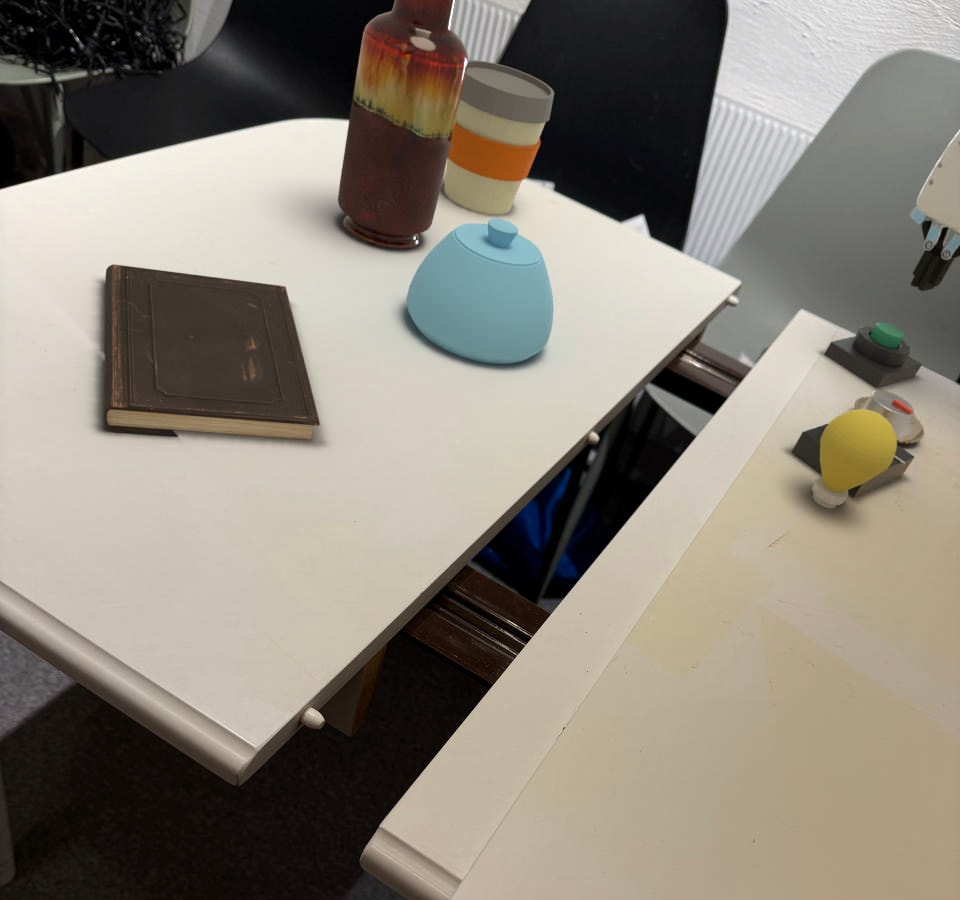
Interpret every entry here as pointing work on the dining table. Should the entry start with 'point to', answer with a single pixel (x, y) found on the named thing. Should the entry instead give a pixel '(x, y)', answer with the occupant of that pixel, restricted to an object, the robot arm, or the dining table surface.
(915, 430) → the seashell
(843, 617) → the dining table surface
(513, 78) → the reusable coffee cup
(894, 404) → the program dial
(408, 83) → the vase
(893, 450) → the light bulb
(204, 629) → the dining table surface
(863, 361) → the block
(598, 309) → the dining table surface
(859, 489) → the washer panel
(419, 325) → the sugar bowl
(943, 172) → the robot arm
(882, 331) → the button
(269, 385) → the hardcover book
